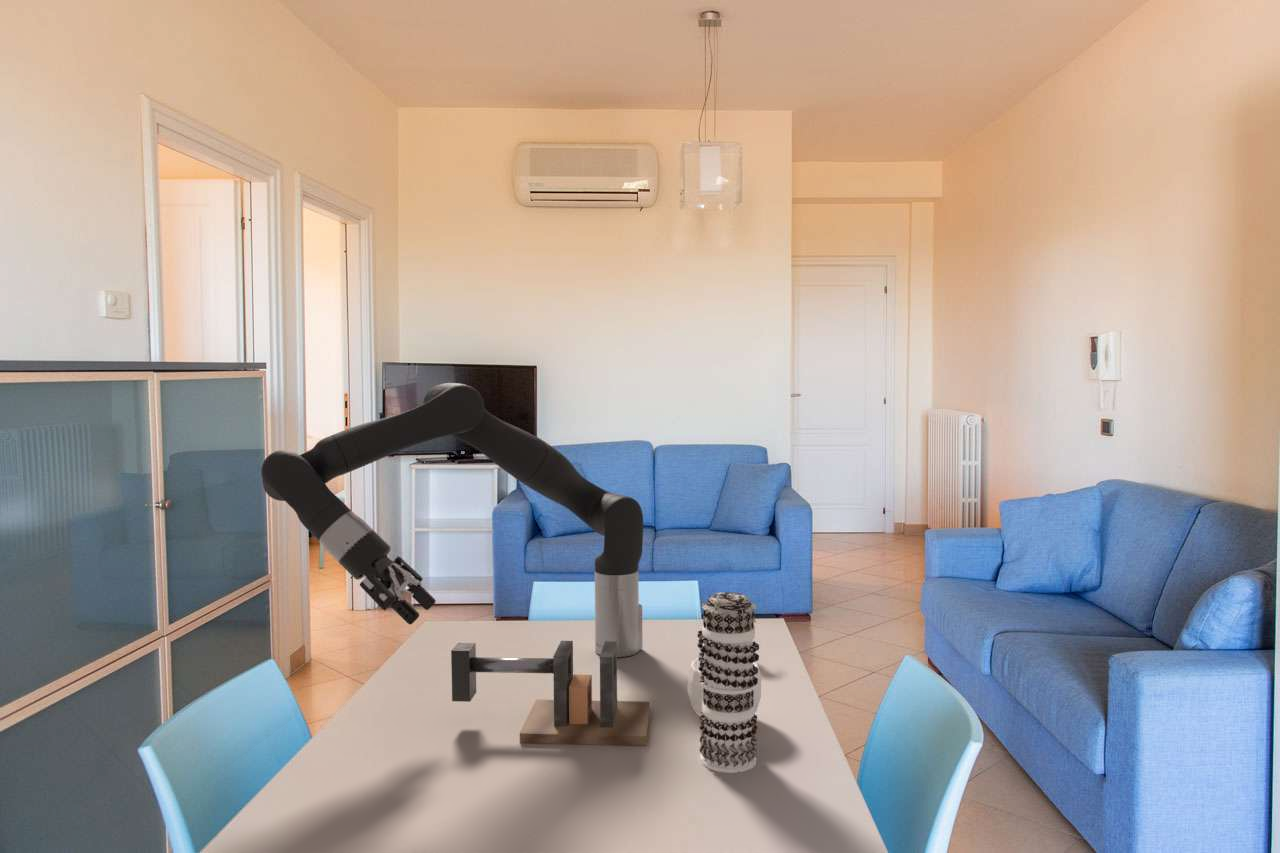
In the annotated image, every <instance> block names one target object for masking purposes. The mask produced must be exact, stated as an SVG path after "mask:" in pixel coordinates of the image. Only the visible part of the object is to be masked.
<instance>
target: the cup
mask: <svg viewBox="0 0 1280 853" xmlns="http://www.w3.org/2000/svg"><path fill="white" fill-rule="evenodd" d="M698 658H699V657H697V658H696V659H694V660H693V661H692V662H691V665H690V668H689V671H688V676H687V695H688V698H689V703H690V706H691V708H692V709H693V710H694V712H695V713H696V715H697V716H698V717H699V718H700V715H701V712H702V702H703V687H702V686H701V684H700V680H701V678H700V676H701V675H702V674H701V671H699V666H700V661H699V659H698ZM753 664H754V662H753ZM754 666H755V667H757V668H758V673H757V674H755V675H753V676H755V677H756V678H757V679H758V683H757V685H756V688H755V689H754V690H753V692H754V697H753V702H754V703H755V713H757V710H758V707H759V705H760V702H761V697H762V675H761V671H760V668H759V665H758V664H757V663H756V662H755V664H754Z"/></svg>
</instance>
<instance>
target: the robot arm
mask: <svg viewBox="0 0 1280 853" xmlns="http://www.w3.org/2000/svg"><path fill="white" fill-rule="evenodd" d="M448 436H452V437H454V438H456V439H458V440H460V441H462V442H463V443H465V444H467V445H469V446H471V447H473V448H474V449H476V450H477V451H479V452H480V453H481V454H483V455H484V456H485V457H486V458H488V459H489V460H490V461H492V462H493V463H494V464H495V465H497V466H498V467H499V468H501V469H502V470H503V471H504V472H506V473H507V474H509V475H510V476H512V477H513V478H514V479H516V480H517V481H519V482H521V484H523V485H525V486H527V487H528V488H529V489H531V490H532V491H534V492H536V493H538V494H540V495H542V496H543V497H544V498H547V499H549V500H550V501H553V502H554V503H556V504H558V505H560V506H562V507H564V508H566V509H567V510H569V512H571V513H573V514H574V515H575V516H576V517H577V518H579V519H580V520H581V521H582V522H583V523H585V524H586V526H588V527H589V528H590V529H591V530H593V531H594V532H596V534H599V535H600V536H603V537H604V538H603V551H602V553H601V554H599V555H596V557H595V558H594V626H595V628H594V641H595V647H594V648H595V653H597V654H598V655H599V656H600V655H601V652H602V649H603V646H604V643H605V641H617V658H625V657H630V656H634V655H636V654H638V652H640V650H643V605H642V604H641V603H639V602H640V601H639V600H640V599H639V597H640V596H639V566H640V565H639V564H640V561H641V558H642V554H643V540H644V538H643V537H644V513H643V510H642V507H641V505H640V503H639V502H638V501H637V500H636V499H634V498H633V497H630V496H626V495H622V494H618V493H613V492H610V491H608V490H606V489H603V488H601V487H600V486H597V485H596V484H594V483H593V482H591V481H589V480H588V479H586V478H585V476H583V475H582V474H580V473H579V471H578V470H577V469H576V468H575V466H574V464H572V462H571V461H570V460H569V459H568V458H567V457H566V456H565V455H564V454H562V453H561V452H560V451H559V450H557V449H556V448H555V447H553V446H551V444H549V443H547V442H546V441H544V440H543V439H541V438H540V437H537V436H535V435H534V434H531V433H530V432H528V431H526V430H524V429H521V428H519V427H517V426H515V425H514V424H510V423H508V422H506V421H503V420H502V419H500V418H498V417H496V416H495V415H493V414H492V413H490V412H489V411H488V410H486V408H485V402H484V398H483V396H482V395H481V394H480V392H479V391H478V390H477V389H475V388H474V387H472V386H470V385H469V384H468V385H467V384H464V383H459V382H458V383H456V382H445V383H441V384H438V385H435V386H433V387H432V388H431V389H429V390H428V391H427V392H426V394H425V396H424V399H423V403H422V404H420V405H418V406H415V407H414V408H412V409H408V410H406V411H404V412H401V413H398V414H394V415H391V416H387V417H383V418H380V419H377V420H372V421H368V422H365V423H362V424H358V425H355V426H353V427H349V428H347V429H344V430H342V431H339V432H336V433H333V434H332V435H331V434H330V435H329V436H326V437H323V438H322V439H320V440H319V441H318V442H316V443H315V445H314V447H313V448H311V449H309V450H308V451H305V452H303V453H301V454H299V453H296V452H295V451H292V450H289V449H283V450H282V449H281V450H276V451H273V452H272V453H270V454H268V456H266V458H264V461H263V463H262V466H261V469H260V470H261V480H262V487H263V490H264V491H265V493H266V494H267V496H269V497H270V498H271V499H273V500H277V501H280V502H285V503H286V504H288V506H289V507H290V508H291V509H292V510H294V513H295V514H296V516H297V518H298V519H299V522H300V523H301V524H302V525H303V527H305V528H306V530H308V531H309V532H310V534H311V535H312V536H313V537H314V538H316V540H318V541H319V543H320V544H321V545H322V547H323V548H324V549H325V550H326V551H327V553H328V554H329V555H331V557H332V558H334V559H335V561H337V563H338V564H339V565H340V566H342V567H343V568H344V569H345V571H347V572H348V573H349V574H350V575H351V576H352V578H354V579H355V580H357V581H359V580H361V579H362V581H361V582H359V586H360V587H361V589H362V590H363V591H365V593H366V594H367V595H368V596H369V597H370V598H371V599H372V600H373V601H374V602H375V603H376V604H377V605H378V606H379V607H380V608H381V609H382V610H383V611H387V610H388V609H389V610H391V611H393V610H394V612H396V614H398V615H399V617H401V618H402V619H403V620H404V621H405V622H406V624H408V625H413V623H414V622H416V621H417V620H418V619H419V617H420V612H418V610H416V609H415V608H414V607H413V606H412V605H411V604H410V603H409V602H408V601H407V600H406V599H405V598H403V595H402V593H401V592H402V591H403V592H405V593H407V594H409V595H411V597H412V598H413V599H414V600H415V601H416V602H417V603H418V604H419V605H420V606H421V607H422V608H423V609H424V610H425V611H428V610H430V609H431V608H432V607H433V606H434V605H435V604H436V601H437V600H436V599H435V598H434V597H433V596H432V595H431V594H430V593H429V592H428V590H426V589H425V588H424V587H423V586H422V585H423V584H422V581H423V579H424V578H423V577H422V576H421V575H420V574H419V573H418V572H417V571H416V570H415V569H414V568H412V567H411V566H410V565H409V564H408V563H407V562H406V561H405V560H404V559H403V558H402V557H401V556H398V555H397V557H396V558H394V559H393V560H392V559H390V558H389V557H388V554H390V552H391V546H390V545H389V544H388V543H387V542H386V541H385V540H384V538H382V537H381V536H380V535H379V534H378V532H376V531H375V530H374V529H373V528H372V527H371V526H370V525H369V524H368V523H367V522H366V521H365V520H364V519H363V518H361V516H358V515H357V514H356V513H354V511H352V509H351V508H349V507H348V506H347V504H345V503H344V502H343V501H342V500H341V499H340V498H339V497H338V496H337V495H336V494H334V493H333V491H331V490H330V489H329V487H328V485H327V483H328V482H330V481H331V480H333V479H335V478H337V477H339V476H343V475H346V474H347V473H351V472H352V471H356V470H358V469H360V468H362V467H366V466H367V465H369V464H372V463H374V462H377V461H379V460H382V459H384V458H386V457H388V456H390V455H393V454H395V453H398V452H400V451H403V450H405V449H408V448H411V447H413V446H416V445H420V444H421V443H425V442H428V441H431V440H435V439H439V438H443V437H448Z"/></svg>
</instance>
